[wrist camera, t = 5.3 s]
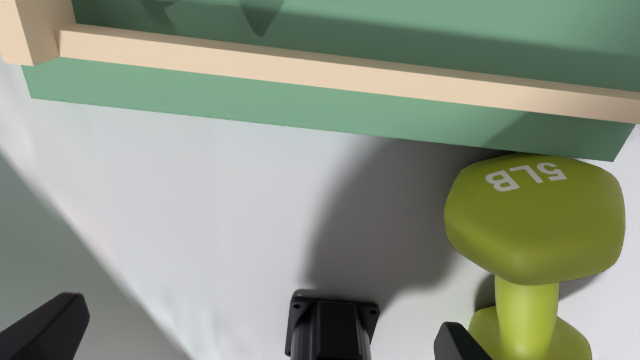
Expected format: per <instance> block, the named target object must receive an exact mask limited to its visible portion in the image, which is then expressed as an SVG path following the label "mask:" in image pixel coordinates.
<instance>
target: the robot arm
mask: <svg viewBox="0 0 640 360" xmlns="http://www.w3.org/2000/svg"><path fill="white" fill-rule="evenodd" d="M379 314H380V309H379V306H378V305H377V304H375V303H364V302H352V301H340V300H327V299H315V298H303V297H294V298H292V299H291V301H290V309H289V318H288V327H287V336H286V345H285V354H286V355H287V356H289V357H291V358H290V360H372V359H371V352H370V344H371V340H372V337H373V334H374V331H375V327H376V324H377V321H378V317H379ZM89 319H90V314H89V310H88V307H87V305H86V301H85V298H84V296H83V294H82V293H80V292H68V291H67V292H62V293H60V294H58V295H57V296H55V297H54V298H52V299H51V300H49V301H48V302H46V303H44V304H43V305H41V306H40V307H39V308H37V309H35V310H34V311H32V312H31V313H29V314H28V315H26V316H25V317H23V318H22V319H20V320H18V321H17V322H15V323H14V324H12V325H11V326H9V327H8V328H6V329H5V330H3V331H2V332H0V360H73V358H74V356H75V354H76V351H77V349H78V347H79V344H80V342H81V340H82V338H83V335H84V333H85V331H86V328H87V326H88V323H89ZM434 354H435V360H493V359H492V358H491V357H490V356H489V355H488V354H487V352H486V351H485V350H484V349H483V348H482V347H481V346H480V345H479V343H478V342H477V341H476V340H475V339H474V338H473V337H472V336H471V334H470V333H469V332H468V331H467V330H466V329H465V328H464V327H463V326H462V325H461V324H460V323H457V322H444V323H443V324H442V325H441V327H440V330H439V332H438V334H437V336H436V339H435V341H434Z"/></svg>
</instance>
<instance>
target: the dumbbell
mask: <svg viewBox="0 0 640 360" xmlns="http://www.w3.org/2000/svg"><path fill="white" fill-rule="evenodd" d="M444 223H445V229H446V234H447V238H448V240H449V242H450V243H451V245H452V246H453V247H454V249H456V250H457V251H458V252H459V253H460V254H462V255H463V256H465V257H466V258H468V259H469V260H471V261H472V262H474V263H475V264H477V265H478V266H480V267H482V268H483V269H485V270H487V271H488V272H490V273H492V274H494V275H495V300H496V305H495V306H490V307H486V308H483V309H480V310H478V311H477V312H476V313H475V314H474V315H473V317H472V319H471V322H470V325H469V329H468V332H469V333H470V334H471V336H472V337H473V338H474V339H475V340H476V341H477V342H478V343H479V345H480V346H481V347H482V348H483V349H484V350H485V351H486V352H487V354H488V355H489V356H490V357H491V358H492V359H493V360H592V353H591V348H590V344H589V343H588V341H587V339H586V338H585V337H584V336H583V335H582V334H581V333H580V332H579V331H578V330H576V329H575V328H574V327H572V326H571V325H570V324H568V323H567V322H565V321H564V320H562V319H561V318H559V317H558V316H557V310H558V299H559V282H566V281H571V280H575V279H580V278H584V277H588V276H592V275H595V274H598V273H601V272H603V271H605V270H607V269H608V268H610V267H611V266H612V265H614V264H615V262H616V261H617V259H618V257H619V256H620V253H621V250H622V246H623V240H624V235H625V206H624V199H623V194H622V190H621V187H620V184H619V182H618V181H617V179H616V178H615V177H614V176H613V175H612V174H611V173H609V172H607V171H606V170H604V169H602V168H600V167H597V166H595V165H592V164H589V163H585V162H582V161H578V160H575V159H571V158H568V157H563V156H554V155H545V154H536V153H527V152H517V153H512V154H508V155H504V156H499V157H495V158H491V159H487V160H483V161H479V162H476V163H473V164H470V165H468V166H466V167H465V168H464V169H462V170H461V171H460V172H459V174H458V175H457V177H456V179H455V180H454V183H453V185H452V187H451V189H450V192H449V194H448V197H447V200H446V203H445V207H444Z"/></svg>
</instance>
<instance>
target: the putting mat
mask: <svg viewBox="0 0 640 360" xmlns="http://www.w3.org/2000/svg"><path fill="white" fill-rule="evenodd" d="M0 52H1V55H2V58H3V61H4V63H9V64H18V65H21V66H22V69H23V72H24V76H25V79H26V82H27V86H28V89H29V92H30V96H31V98H34V99H43V100H52V101H61V102H70V103H79V104H89V105H98V106H107V107H116V108H125V109H134V110H143V111H152V112H162V113H171V114H180V115H189V116H198V117H207V118H216V119H226V120H235V121H244V122H253V123H262V124H271V125H280V126H289V127H299V128H308V129H317V130H326V131H335V132H344V133H353V134H363V135H372V136H381V137H390V138H399V139H408V140H417V141H426V142H436V143H445V144H454V145H463V146H472V147H481V148H490V149H500V150H509V151H518V152H527V153H536V154H545V155H554V156H563V157H573V158H582V159H591V160H600V161H609V162H613V161H614V159H615V158H616V156H617V154H618V153H619V151H620V149H621V148H622V146H623V144H624V143H625V141H626V140H627V138H628V136H629V135H630V133H631V131H632V130H633V128H634V126H635V125H636V124H640V0H0Z"/></svg>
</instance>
